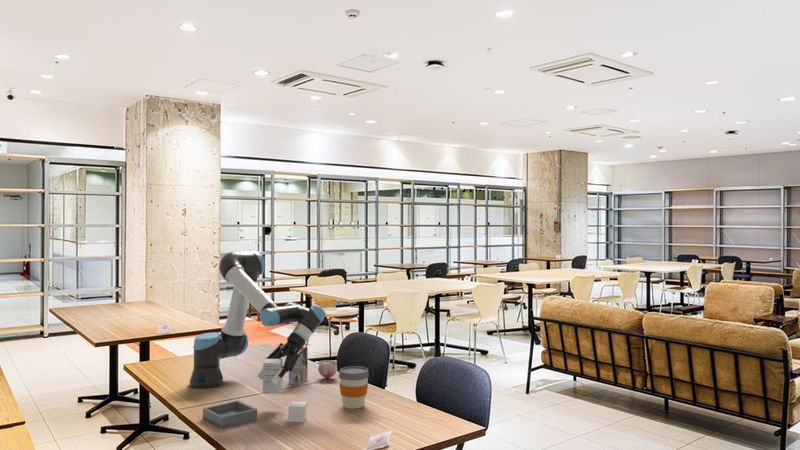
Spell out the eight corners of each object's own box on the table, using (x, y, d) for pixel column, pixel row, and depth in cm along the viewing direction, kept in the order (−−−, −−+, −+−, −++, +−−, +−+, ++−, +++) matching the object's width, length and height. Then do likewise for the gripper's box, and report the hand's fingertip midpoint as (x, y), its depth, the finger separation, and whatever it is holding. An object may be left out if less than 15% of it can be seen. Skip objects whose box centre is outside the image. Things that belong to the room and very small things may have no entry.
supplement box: (264, 388, 239) (265, 358, 239) (282, 388, 240) (283, 358, 240) (262, 393, 232) (262, 362, 232) (280, 393, 233) (281, 362, 233)
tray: (202, 418, 223) (202, 408, 223) (237, 410, 233) (237, 400, 233) (221, 428, 212) (221, 417, 212) (257, 419, 223) (257, 409, 223)
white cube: (304, 422, 220) (304, 406, 220) (288, 422, 220) (288, 406, 220) (306, 416, 226) (306, 401, 226) (291, 416, 226) (291, 401, 226)
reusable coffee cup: (372, 402, 245) (373, 367, 245) (361, 411, 233) (361, 374, 233) (346, 399, 249) (346, 365, 249) (333, 408, 237) (334, 372, 237)
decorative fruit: (337, 376, 287) (337, 356, 287) (336, 380, 279) (336, 360, 279) (319, 376, 287) (319, 356, 287) (317, 380, 278) (317, 360, 278)
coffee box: (295, 378, 282) (295, 346, 282) (307, 379, 280) (308, 347, 280) (288, 383, 272) (288, 350, 272) (300, 384, 271) (301, 350, 271)
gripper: (320, 346, 239) (287, 391, 228) (289, 338, 255) (257, 379, 244) (309, 335, 235) (276, 381, 224) (279, 327, 251) (246, 369, 240)
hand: (266, 380), depth 234 cm, fingers closed on supplement box, 10 cm apart
